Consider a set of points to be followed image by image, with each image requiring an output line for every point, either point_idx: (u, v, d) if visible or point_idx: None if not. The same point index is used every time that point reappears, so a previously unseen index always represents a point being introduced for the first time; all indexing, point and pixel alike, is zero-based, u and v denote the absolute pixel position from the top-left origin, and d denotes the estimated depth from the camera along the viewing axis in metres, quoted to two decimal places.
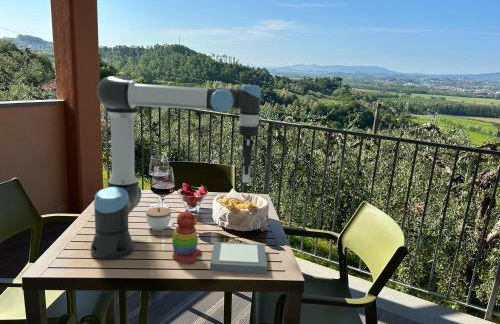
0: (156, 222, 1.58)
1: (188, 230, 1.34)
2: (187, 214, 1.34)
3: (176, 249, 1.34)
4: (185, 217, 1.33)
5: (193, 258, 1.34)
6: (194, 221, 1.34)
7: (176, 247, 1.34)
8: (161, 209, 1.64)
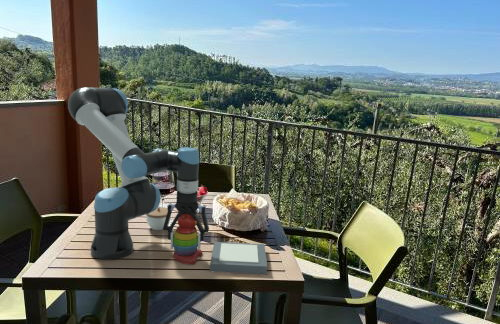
0: (156, 222, 1.58)
1: (189, 230, 1.33)
2: (188, 214, 1.34)
3: (177, 249, 1.34)
4: (186, 217, 1.33)
5: (194, 258, 1.34)
6: (195, 221, 1.34)
7: (177, 247, 1.34)
8: (161, 209, 1.64)
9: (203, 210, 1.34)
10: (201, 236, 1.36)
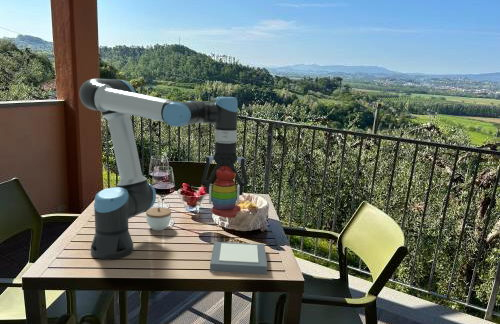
0: (156, 222, 1.58)
1: (228, 182, 1.29)
2: (227, 166, 1.29)
3: (216, 203, 1.30)
4: (225, 169, 1.28)
5: (233, 211, 1.30)
6: (234, 173, 1.29)
7: (216, 200, 1.29)
8: (161, 209, 1.64)
9: (242, 162, 1.29)
10: (240, 190, 1.32)
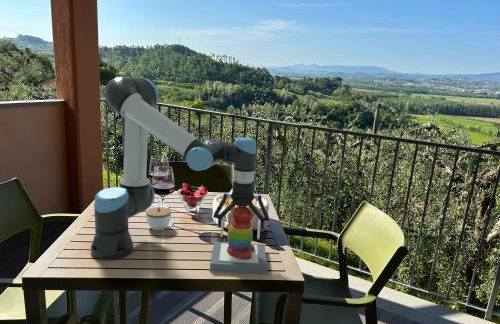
0: (156, 222, 1.58)
1: (245, 224, 1.33)
2: (244, 208, 1.33)
3: (232, 244, 1.33)
4: (242, 211, 1.32)
5: (249, 252, 1.33)
6: (251, 215, 1.33)
7: (232, 242, 1.33)
8: (161, 209, 1.64)
9: (260, 199, 1.32)
10: (261, 224, 1.35)
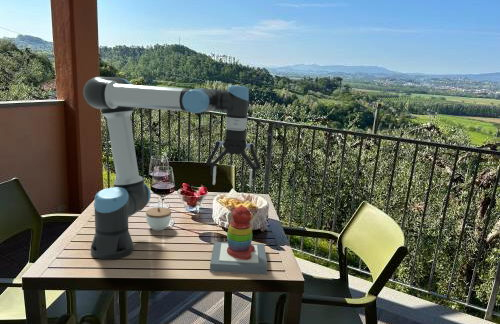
0: (156, 222, 1.58)
1: (244, 225, 1.32)
2: (243, 209, 1.33)
3: (232, 244, 1.33)
4: (242, 212, 1.32)
5: (249, 253, 1.33)
6: (250, 216, 1.33)
7: (232, 242, 1.33)
8: (161, 209, 1.64)
9: (252, 147, 1.34)
10: (253, 173, 1.36)
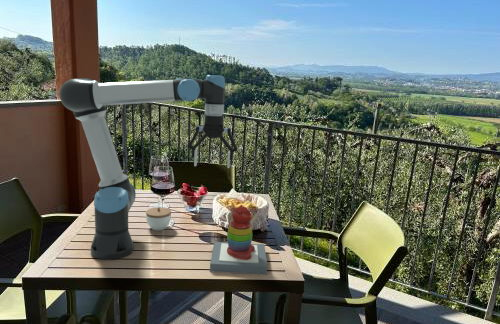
0: (156, 222, 1.58)
1: (244, 225, 1.32)
2: (243, 209, 1.33)
3: (232, 244, 1.33)
4: (242, 212, 1.32)
5: (249, 253, 1.33)
6: (250, 216, 1.33)
7: (232, 242, 1.33)
8: (161, 209, 1.64)
9: (229, 131, 1.48)
10: (231, 155, 1.50)
